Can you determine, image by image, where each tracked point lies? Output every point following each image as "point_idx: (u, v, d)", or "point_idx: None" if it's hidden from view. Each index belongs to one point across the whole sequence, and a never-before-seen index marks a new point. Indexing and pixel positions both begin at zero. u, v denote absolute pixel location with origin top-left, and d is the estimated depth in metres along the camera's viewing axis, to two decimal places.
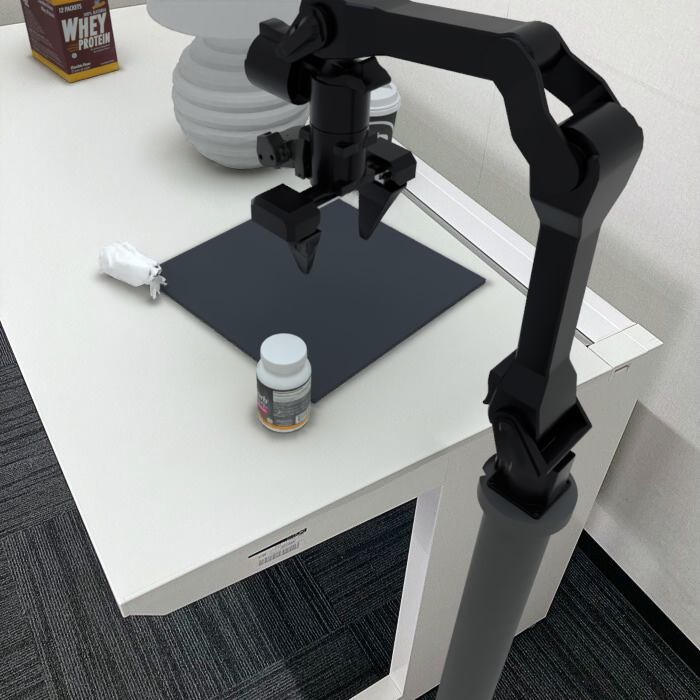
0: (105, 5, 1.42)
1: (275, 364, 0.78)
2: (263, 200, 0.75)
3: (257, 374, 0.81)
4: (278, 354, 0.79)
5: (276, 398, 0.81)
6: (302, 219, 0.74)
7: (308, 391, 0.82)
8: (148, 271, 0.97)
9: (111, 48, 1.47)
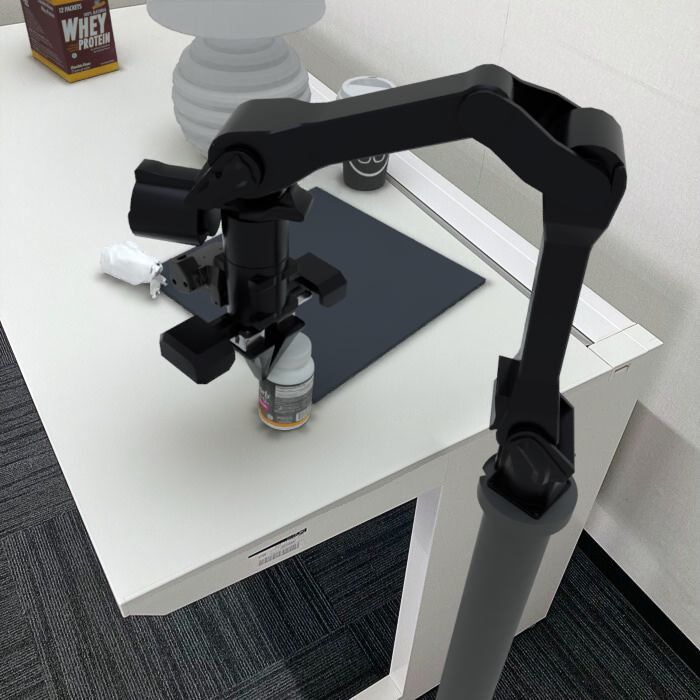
0: (105, 5, 1.42)
1: None
2: (172, 337, 0.68)
3: None
4: None
5: (278, 393, 0.81)
6: (213, 360, 0.67)
7: (310, 389, 0.83)
8: (149, 268, 0.97)
9: (111, 48, 1.47)
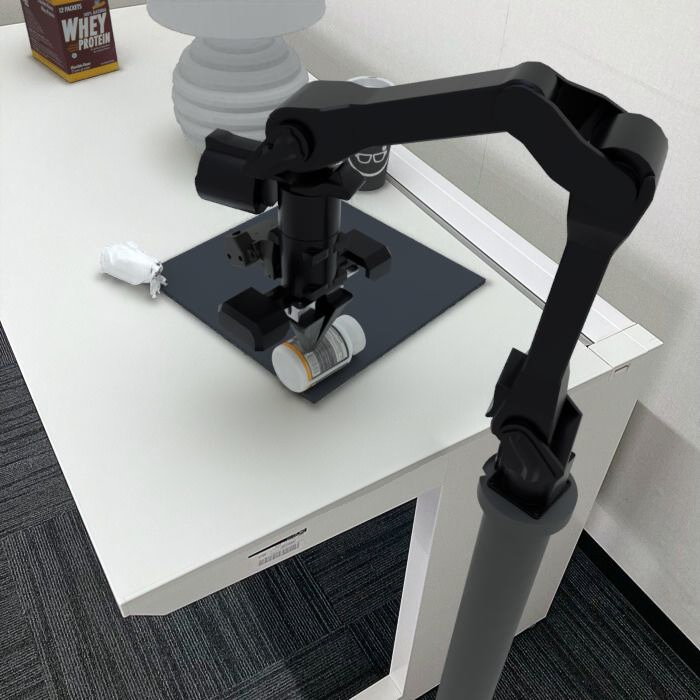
0: (105, 5, 1.42)
1: (347, 315, 0.90)
2: (230, 308, 0.72)
3: None
4: None
5: None
6: (270, 328, 0.71)
7: (335, 356, 0.87)
8: (149, 268, 0.97)
9: (111, 48, 1.47)
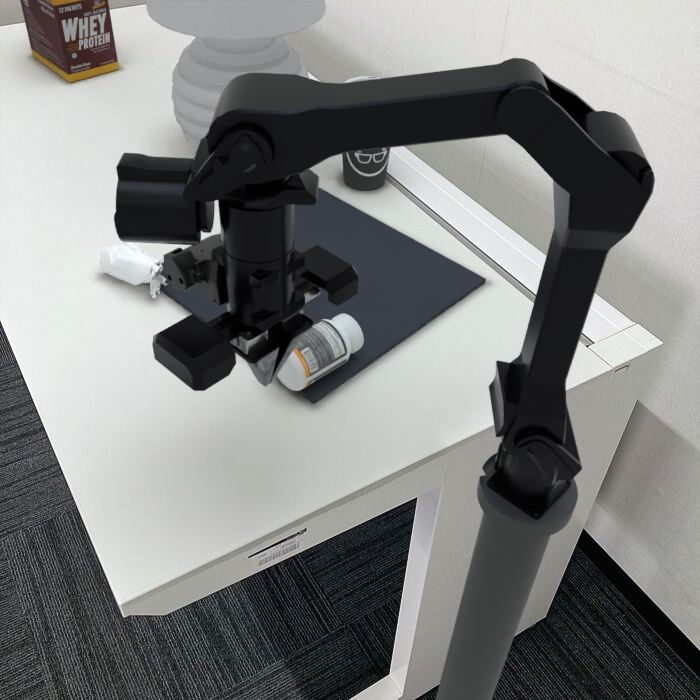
0: (105, 5, 1.42)
1: (343, 314, 0.91)
2: (166, 339, 0.62)
3: None
4: None
5: (316, 325, 0.88)
6: (211, 364, 0.61)
7: (332, 352, 0.87)
8: (149, 268, 0.97)
9: (111, 48, 1.47)
